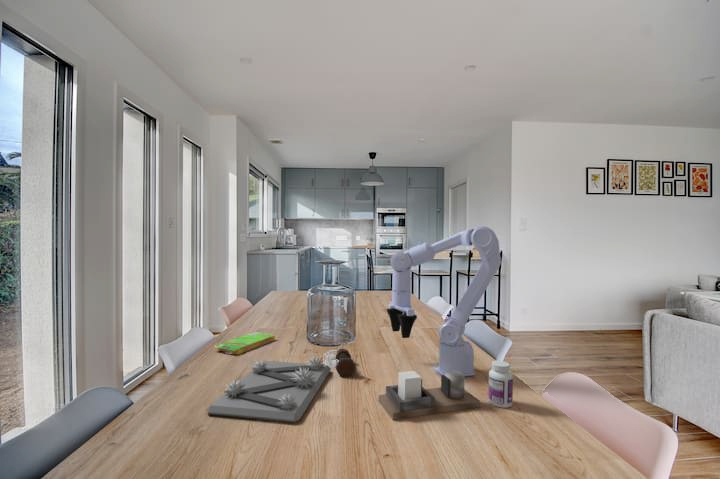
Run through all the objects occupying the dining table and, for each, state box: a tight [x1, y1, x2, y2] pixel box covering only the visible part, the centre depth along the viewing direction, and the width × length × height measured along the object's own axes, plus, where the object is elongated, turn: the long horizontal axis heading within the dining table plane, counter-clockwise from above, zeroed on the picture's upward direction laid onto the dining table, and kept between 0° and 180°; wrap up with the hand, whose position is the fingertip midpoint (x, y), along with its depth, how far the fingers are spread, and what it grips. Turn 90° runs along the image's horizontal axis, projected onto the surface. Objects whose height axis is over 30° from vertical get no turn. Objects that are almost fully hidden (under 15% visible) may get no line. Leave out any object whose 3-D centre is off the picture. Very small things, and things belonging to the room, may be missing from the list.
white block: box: [397, 370, 423, 400], centre depth 82 cm, size 4×4×6 cm
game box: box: [214, 331, 276, 355], centre depth 126 cm, size 3×10×20 cm
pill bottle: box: [488, 360, 514, 409], centre depth 84 cm, size 5×5×10 cm
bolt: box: [334, 348, 357, 378], centre depth 106 cm, size 6×5×15 cm
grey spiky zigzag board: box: [206, 355, 332, 424], centre depth 89 cm, size 30×22×7 cm
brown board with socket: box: [378, 370, 481, 421], centre depth 83 cm, size 22×9×6 cm, turn 107°
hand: (400, 334), depth 109 cm, fingers open, 7 cm apart
